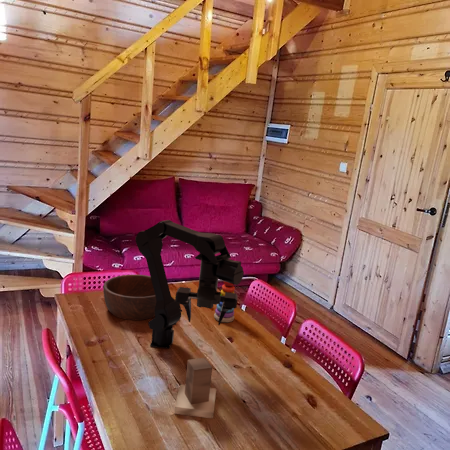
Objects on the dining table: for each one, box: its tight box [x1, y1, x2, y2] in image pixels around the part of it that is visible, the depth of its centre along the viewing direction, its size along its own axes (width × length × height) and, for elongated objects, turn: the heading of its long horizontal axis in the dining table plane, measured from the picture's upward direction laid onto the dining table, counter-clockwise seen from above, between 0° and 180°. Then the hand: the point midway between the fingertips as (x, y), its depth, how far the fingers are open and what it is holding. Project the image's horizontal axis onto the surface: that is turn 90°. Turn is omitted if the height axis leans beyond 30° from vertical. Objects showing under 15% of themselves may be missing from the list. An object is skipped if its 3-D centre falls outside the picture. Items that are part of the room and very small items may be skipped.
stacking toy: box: [213, 281, 236, 323], centre depth 166 cm, size 8×8×19 cm
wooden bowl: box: [102, 274, 156, 321], centre depth 167 cm, size 25×25×10 cm
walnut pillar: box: [184, 357, 213, 405], centre depth 113 cm, size 5×5×10 cm
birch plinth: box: [173, 384, 217, 419], centre depth 114 cm, size 10×10×2 cm
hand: (204, 323), depth 133 cm, fingers open, 9 cm apart
